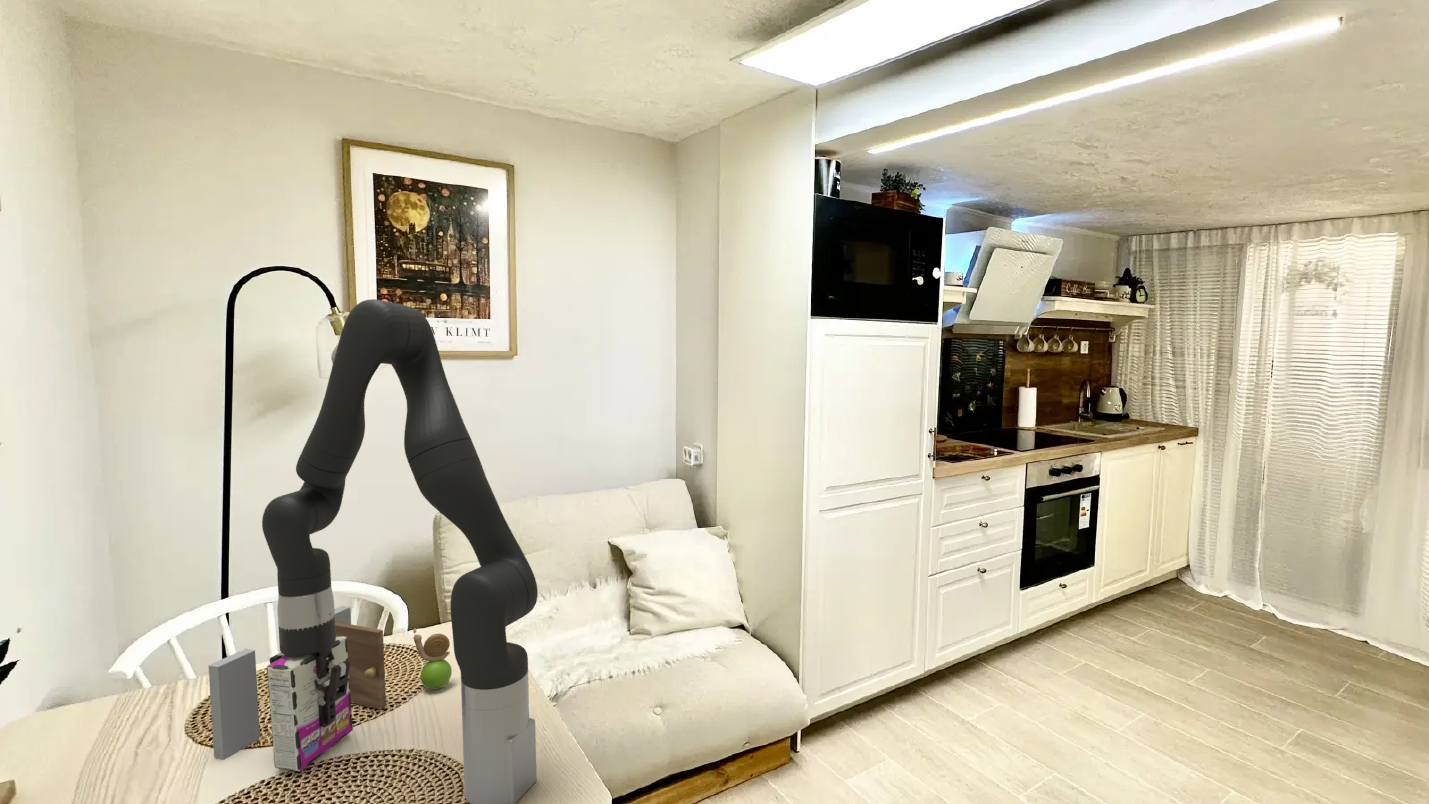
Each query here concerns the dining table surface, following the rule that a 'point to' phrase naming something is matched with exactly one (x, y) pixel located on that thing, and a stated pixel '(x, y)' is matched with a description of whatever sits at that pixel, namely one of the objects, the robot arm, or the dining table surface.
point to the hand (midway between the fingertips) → (312, 721)
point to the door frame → (240, 698)
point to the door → (365, 664)
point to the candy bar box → (304, 710)
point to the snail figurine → (434, 660)
